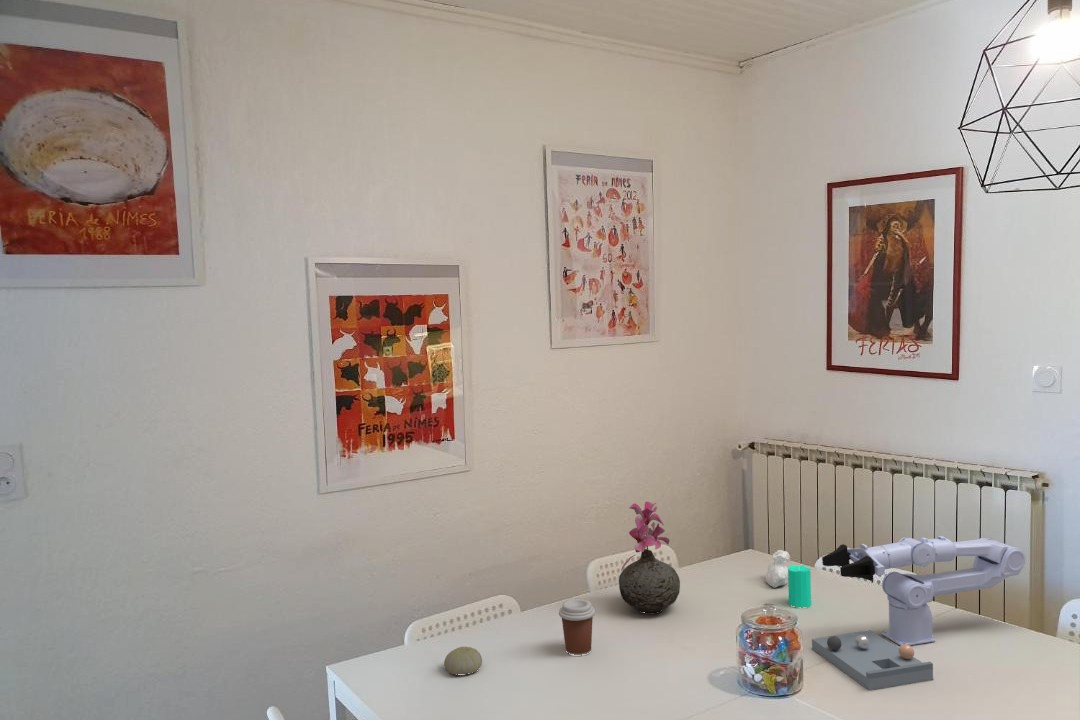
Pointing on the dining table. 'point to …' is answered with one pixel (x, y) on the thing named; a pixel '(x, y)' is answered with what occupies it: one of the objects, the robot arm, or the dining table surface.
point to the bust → (778, 569)
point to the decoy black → (834, 643)
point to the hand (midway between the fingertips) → (831, 566)
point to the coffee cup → (577, 625)
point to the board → (873, 661)
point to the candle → (799, 586)
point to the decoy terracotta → (906, 651)
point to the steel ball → (862, 642)
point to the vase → (648, 568)
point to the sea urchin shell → (463, 660)
